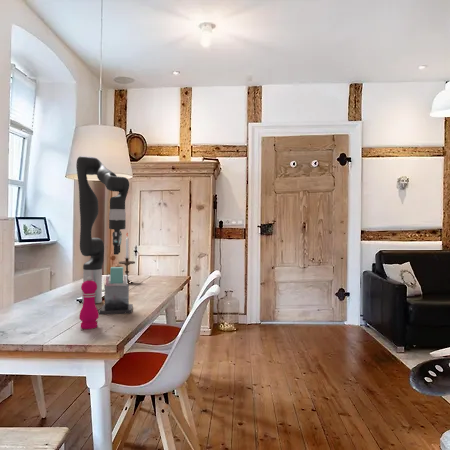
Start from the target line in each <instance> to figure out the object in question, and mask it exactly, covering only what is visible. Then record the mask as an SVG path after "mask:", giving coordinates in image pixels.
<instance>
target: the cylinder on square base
mask: <svg viewBox="0 0 450 450" xmlns="http://www.w3.org/2000/svg"><path fill="white" fill-rule="evenodd" d="M129 285H130V284H127V275H126V274H123V283H110V274H107V275H106V276H105V284H104V304H102V306H101V307H100V309H99V310H98V314H99V315H115V314H116V315H119V314H123V315H124V314H132V312H133V311H132V310H133V307H134V305H133V304H132V303H129V301H130V296H129V295H130V292H129V291H130V287H129Z"/></svg>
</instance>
